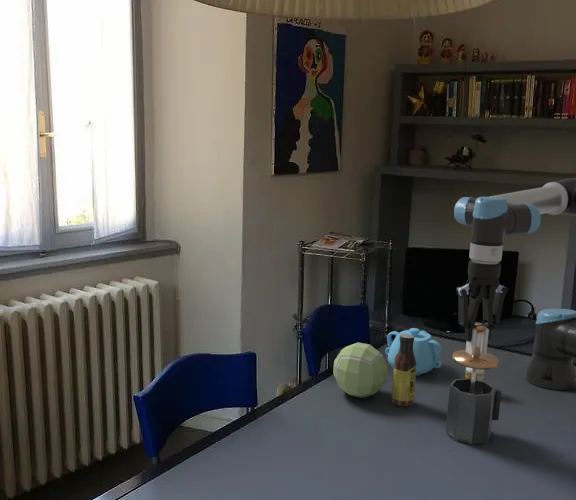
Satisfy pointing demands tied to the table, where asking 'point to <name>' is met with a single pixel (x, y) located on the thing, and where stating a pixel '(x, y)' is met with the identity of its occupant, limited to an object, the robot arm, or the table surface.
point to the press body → (472, 411)
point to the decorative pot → (416, 350)
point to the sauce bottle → (404, 373)
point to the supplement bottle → (478, 374)
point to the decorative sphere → (360, 370)
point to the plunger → (475, 357)
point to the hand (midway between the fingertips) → (475, 352)
